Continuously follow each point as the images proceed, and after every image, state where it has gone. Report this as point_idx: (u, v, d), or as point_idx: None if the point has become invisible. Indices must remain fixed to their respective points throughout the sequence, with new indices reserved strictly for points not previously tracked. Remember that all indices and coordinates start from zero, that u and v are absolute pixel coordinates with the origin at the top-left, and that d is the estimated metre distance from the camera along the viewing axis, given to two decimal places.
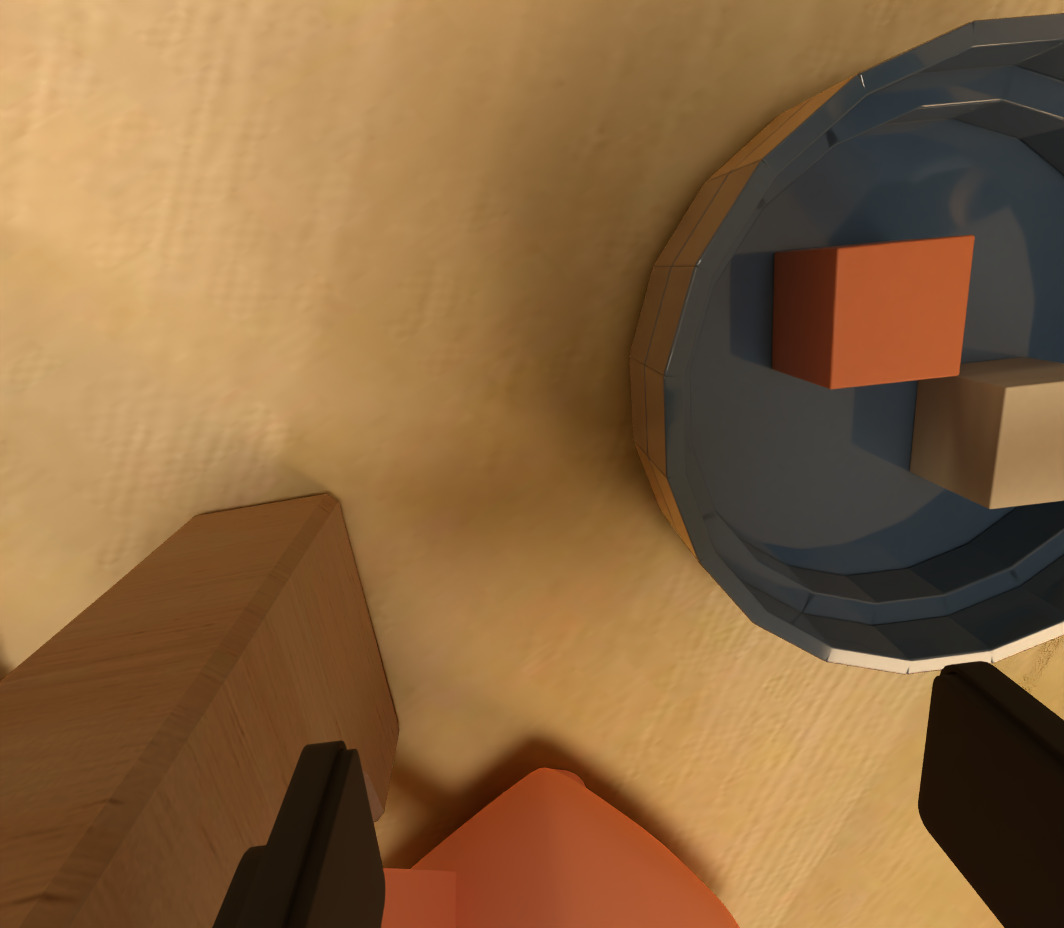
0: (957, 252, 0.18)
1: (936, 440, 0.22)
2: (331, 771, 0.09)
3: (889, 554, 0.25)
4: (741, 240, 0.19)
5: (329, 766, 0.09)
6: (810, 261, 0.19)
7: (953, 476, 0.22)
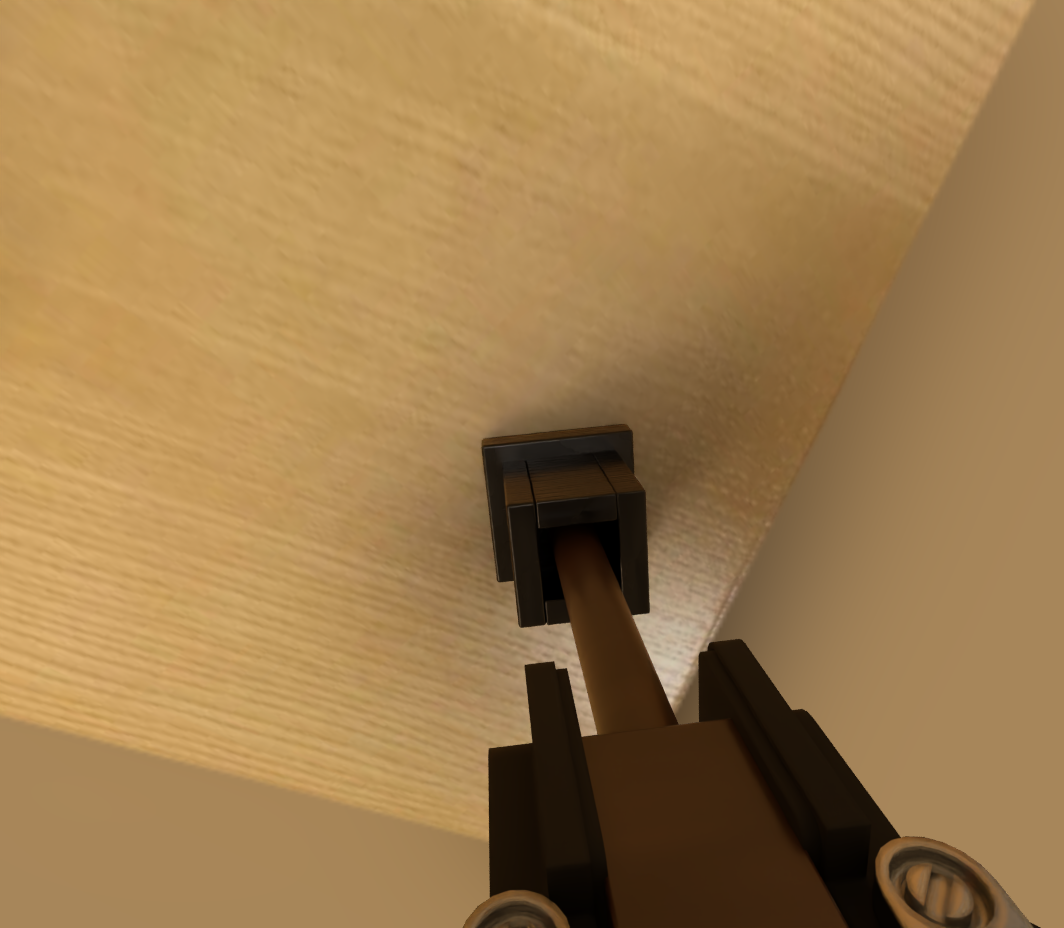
0: None
1: None
2: (557, 683, 0.10)
3: None
4: None
5: (555, 679, 0.10)
6: None
7: None
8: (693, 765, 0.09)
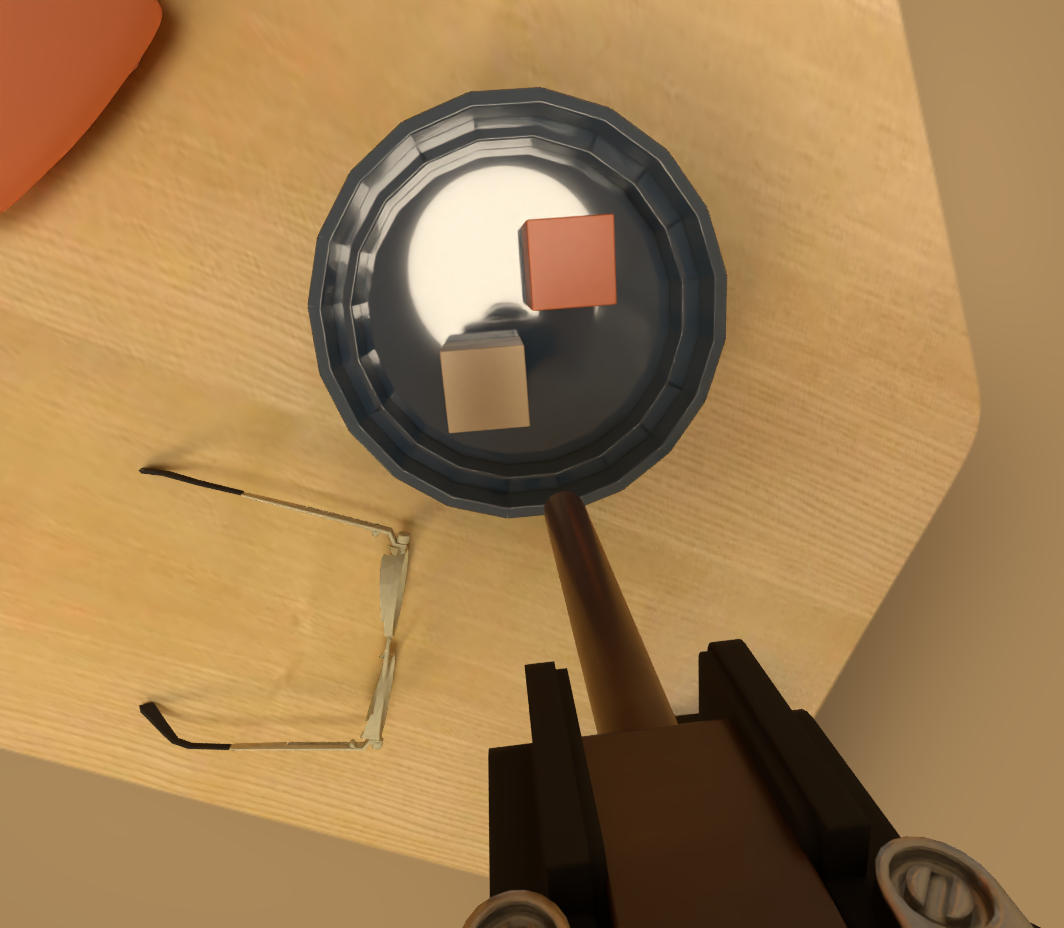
0: (607, 294, 0.29)
1: (474, 342, 0.32)
2: (557, 683, 0.10)
3: (378, 338, 0.33)
4: (615, 169, 0.29)
5: (555, 679, 0.10)
6: None
7: (453, 346, 0.31)
8: (692, 764, 0.09)
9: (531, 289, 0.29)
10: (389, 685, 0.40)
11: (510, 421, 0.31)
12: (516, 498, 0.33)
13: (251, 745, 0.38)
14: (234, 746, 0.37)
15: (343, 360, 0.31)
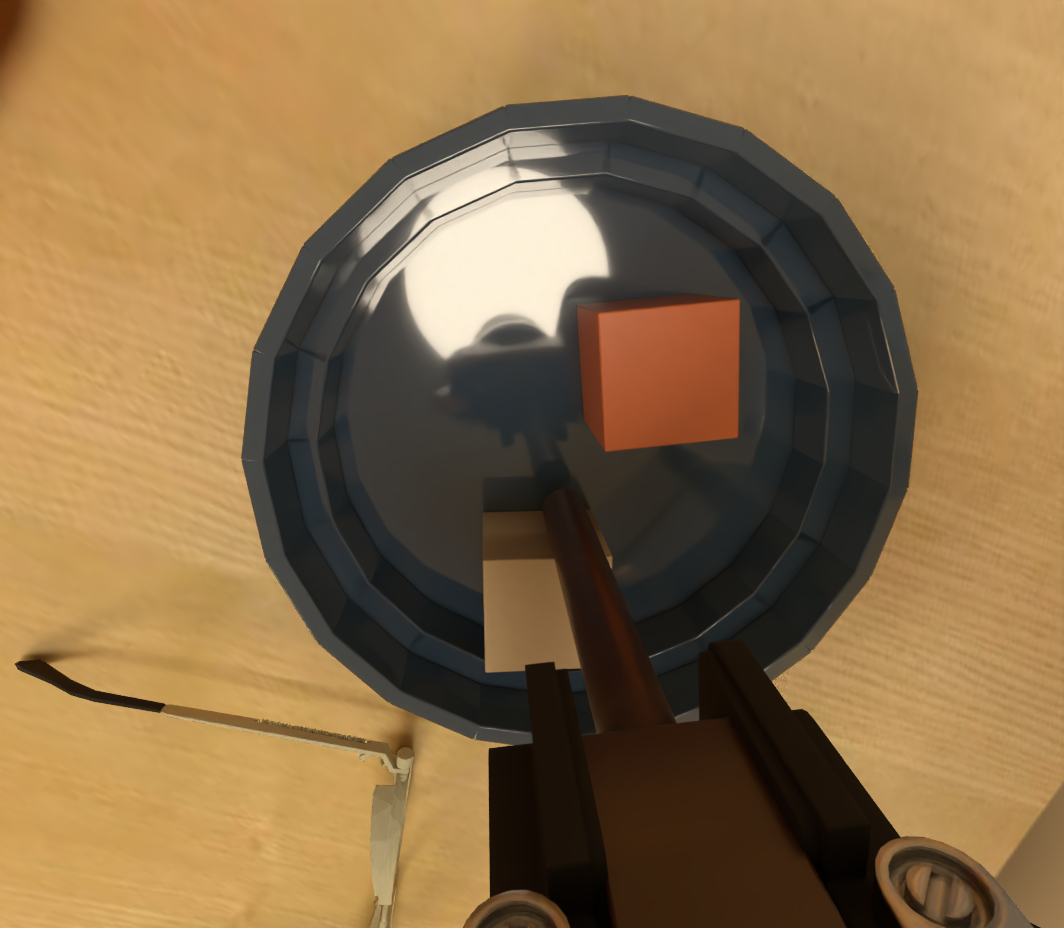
0: (725, 423, 0.18)
1: (528, 524, 0.22)
2: (557, 683, 0.10)
3: (362, 472, 0.22)
4: (733, 223, 0.18)
5: (555, 679, 0.10)
6: (710, 297, 0.19)
7: (500, 536, 0.21)
8: (691, 763, 0.09)
9: (603, 419, 0.18)
10: None
11: None
12: None
13: None
14: None
15: (307, 520, 0.20)
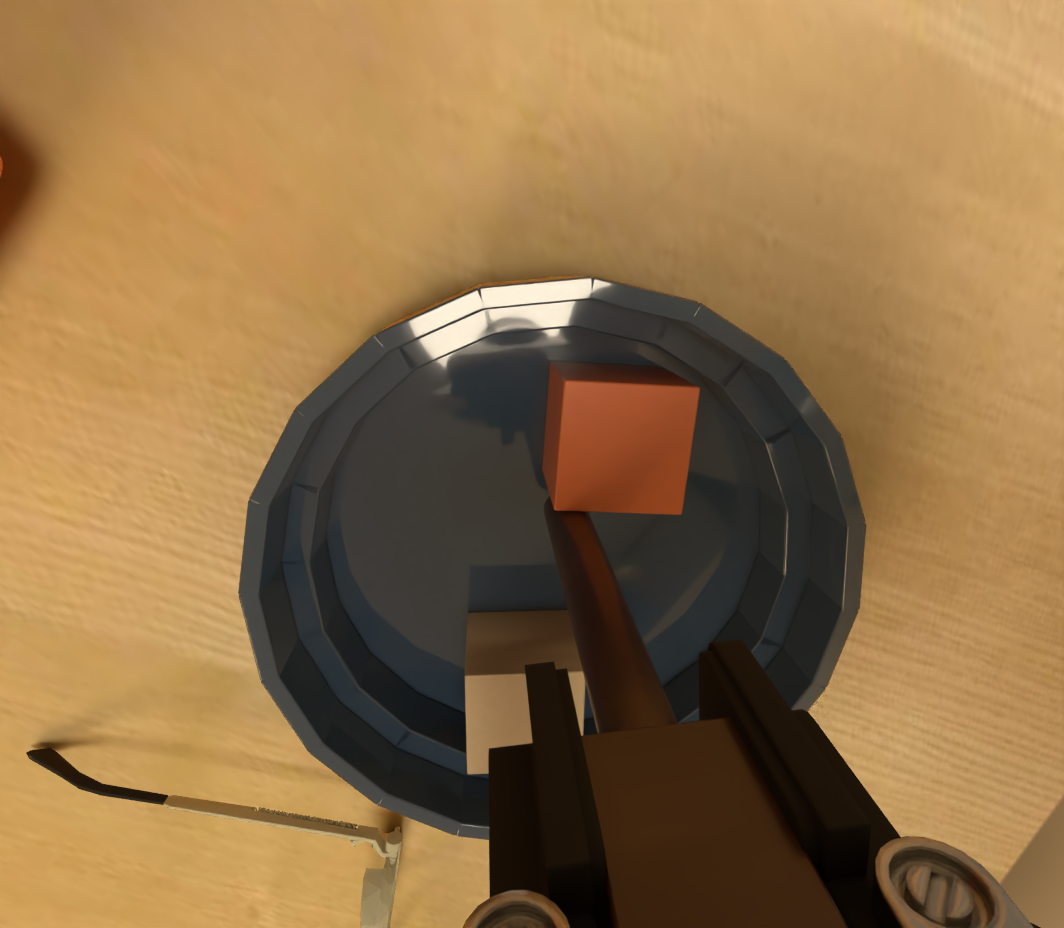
0: (671, 499, 0.19)
1: (510, 629, 0.23)
2: (557, 683, 0.10)
3: (353, 578, 0.23)
4: (695, 367, 0.20)
5: (555, 679, 0.10)
6: (675, 378, 0.19)
7: (482, 645, 0.22)
8: (692, 763, 0.09)
9: (557, 479, 0.19)
10: None
11: None
12: None
13: None
14: None
15: (300, 633, 0.21)
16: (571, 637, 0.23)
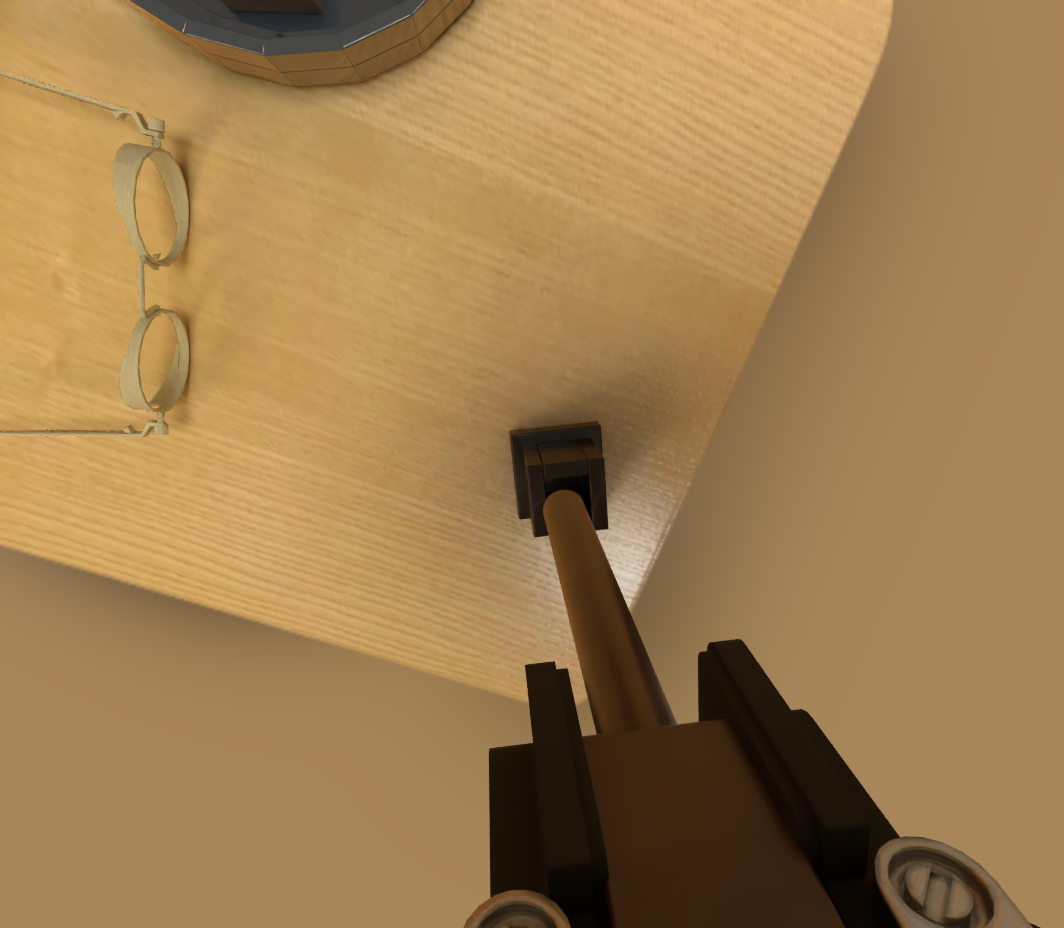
0: None
1: None
2: (558, 683, 0.10)
3: None
4: None
5: (555, 679, 0.10)
6: None
7: None
8: (691, 765, 0.09)
9: None
10: (184, 373, 0.32)
11: None
12: None
13: (2, 431, 0.31)
14: None
15: None
16: None
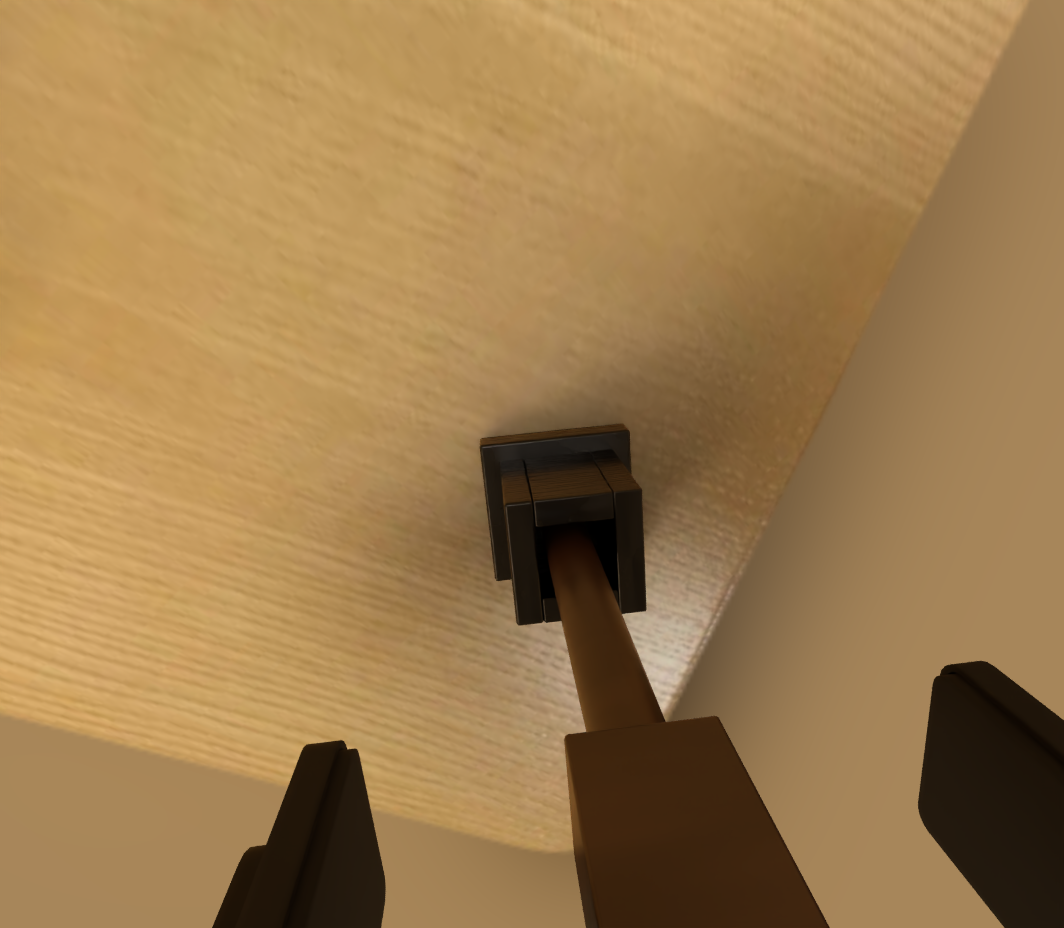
0: None
1: None
2: (331, 771, 0.09)
3: None
4: None
5: (329, 766, 0.09)
6: None
7: None
8: (677, 762, 0.09)
9: None
10: None
11: None
12: None
13: None
14: None
15: None
16: None
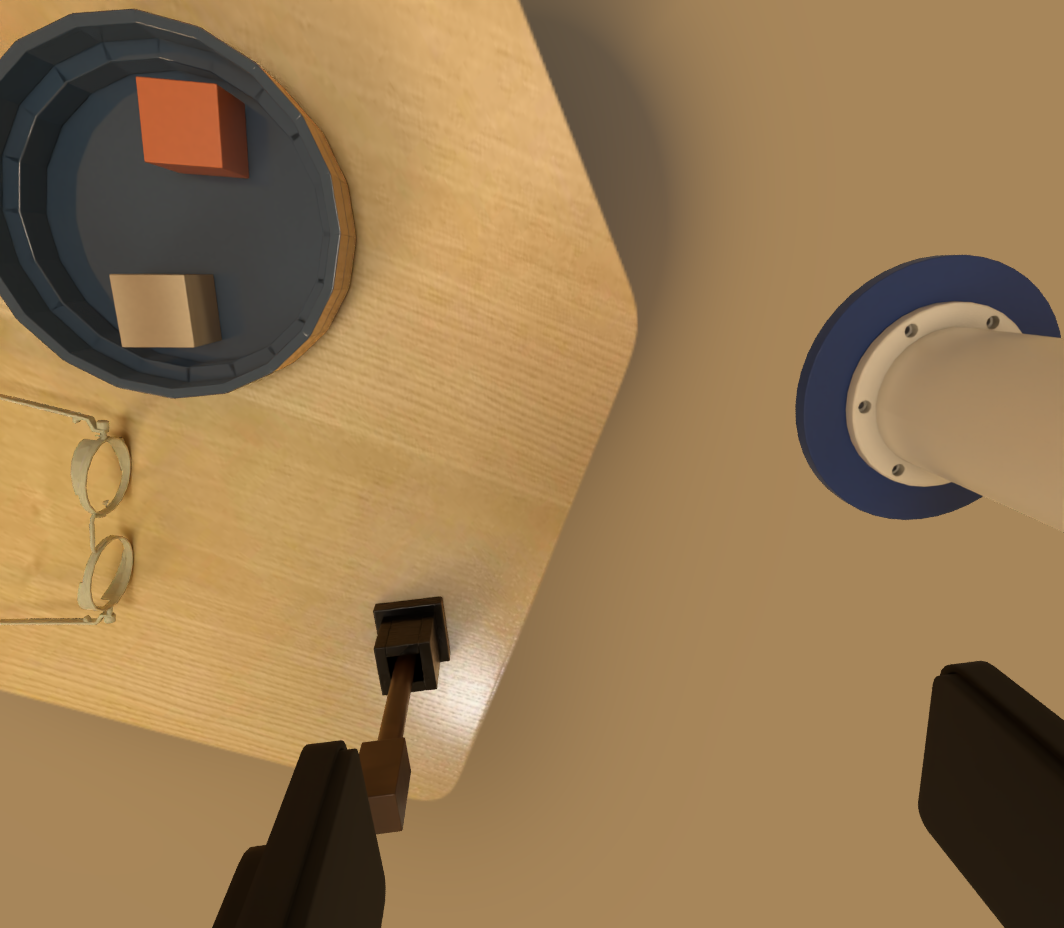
0: (213, 157, 0.33)
1: None
2: (331, 771, 0.09)
3: (67, 245, 0.38)
4: (236, 86, 0.34)
5: (329, 766, 0.09)
6: None
7: None
8: (386, 749, 0.34)
9: (143, 141, 0.33)
10: (129, 570, 0.44)
11: (176, 341, 0.36)
12: (189, 384, 0.37)
13: None
14: None
15: (20, 260, 0.36)
16: (195, 274, 0.37)
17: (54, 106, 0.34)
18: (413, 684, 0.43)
